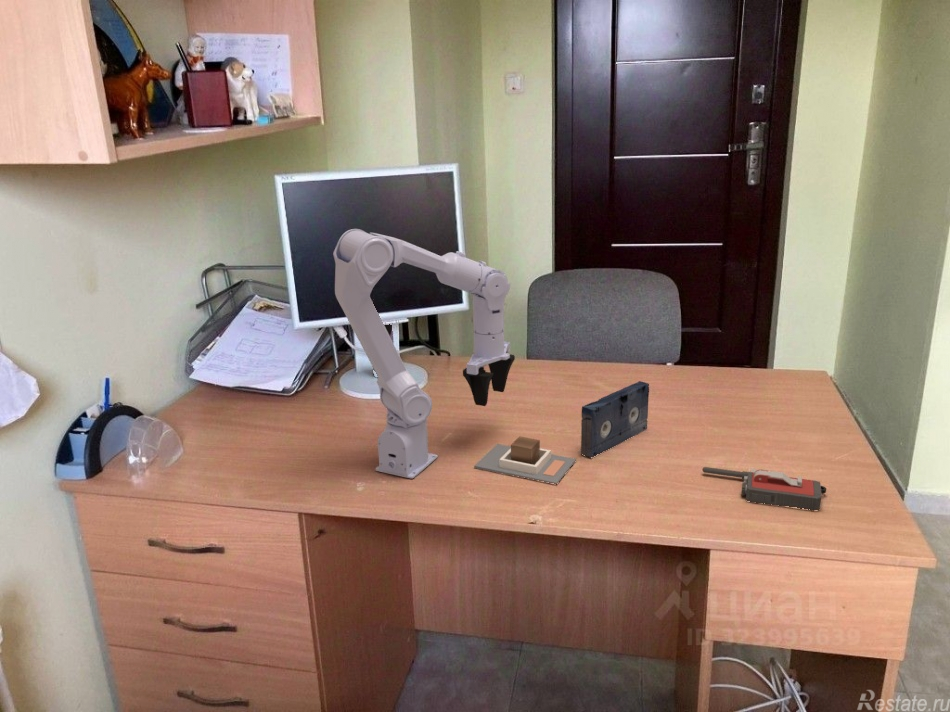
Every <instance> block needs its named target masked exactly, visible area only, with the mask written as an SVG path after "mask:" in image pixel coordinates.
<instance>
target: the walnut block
mask: <svg viewBox="0 0 950 712" xmlns="http://www.w3.org/2000/svg"><path fill="white" fill-rule="evenodd" d="M540 442H541V441H540V439H537V438H536V439H535V438H531V437H525V436H521V435H520V436H518V437H517V438H516V439H515V440H514V441H513V442H512V443H511V444H510V446H511V460H512V461H517V462H522V463H527V464H532V465H535V464H536V463H537V462H538V461H539V459H540V447H541V445H540V444H541V443H540Z"/></svg>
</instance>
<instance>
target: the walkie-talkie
mask: <svg viewBox="0 0 950 712" xmlns="http://www.w3.org/2000/svg"><path fill="white" fill-rule="evenodd" d="M702 472H703V473H705V474H711V475H720V476H726V477H732V478H733V477H735V478H741V479H742V480H743V483H742V484H741V493H740V494H741V496H745V501H746V500H747V501H750V502H749V503H751V502H756V503H755V504H758V503H763V504H762V505H764V503H765V504H770V505H769V506H771V504H772V505H779V506H789V507H797V508H800V509H802V508H804V509H808V510H809V509H810V510H819V509H821V503H822V495H823V494H824V495H825V494H826V492H827V487H826V486H823V485H821V481H818V480H814V479H813V480H812V479H806V478H803V477H802V476H797V477H791V476H788V475H787V474H785V473H784V472H782V471H775V470H774V471H773V470H770V471H769V470H767V469H766V470H765V469H755V468H750V471H744V470H743V471H738V470H731V469H724V468H716V467H710V466H708V467H707V466H704V467H702ZM747 501H746V502H747ZM779 506H778V507H779ZM800 509H799V510H800Z"/></svg>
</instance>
